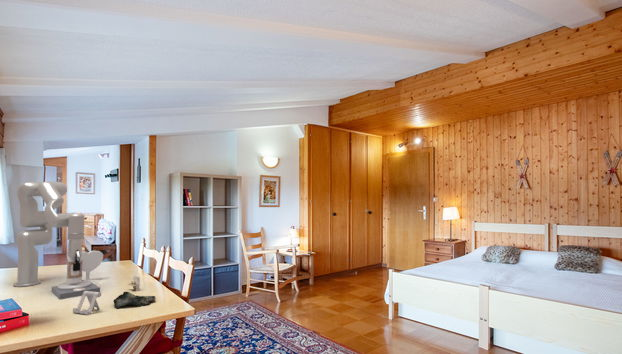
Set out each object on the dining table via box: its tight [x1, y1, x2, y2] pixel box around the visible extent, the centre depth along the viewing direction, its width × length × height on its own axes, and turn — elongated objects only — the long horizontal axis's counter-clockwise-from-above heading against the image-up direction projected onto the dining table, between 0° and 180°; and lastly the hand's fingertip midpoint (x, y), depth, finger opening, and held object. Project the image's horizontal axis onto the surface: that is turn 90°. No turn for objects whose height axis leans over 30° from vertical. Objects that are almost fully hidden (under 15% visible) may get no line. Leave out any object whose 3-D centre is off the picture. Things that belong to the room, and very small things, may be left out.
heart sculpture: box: [82, 250, 104, 283], centre depth 222 cm, size 16×5×18 cm, turn 128°
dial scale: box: [51, 280, 101, 300], centre depth 197 cm, size 22×18×4 cm
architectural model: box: [126, 276, 141, 292], centre depth 200 cm, size 3×7×7 cm, turn 51°
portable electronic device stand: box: [72, 291, 102, 316], centre depth 162 cm, size 9×8×8 cm
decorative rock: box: [113, 291, 156, 310], centre depth 175 cm, size 19×6×15 cm
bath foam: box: [66, 256, 83, 283], centre depth 199 cm, size 7×7×20 cm
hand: (74, 269), depth 199 cm, fingers closed on bath foam, 7 cm apart
